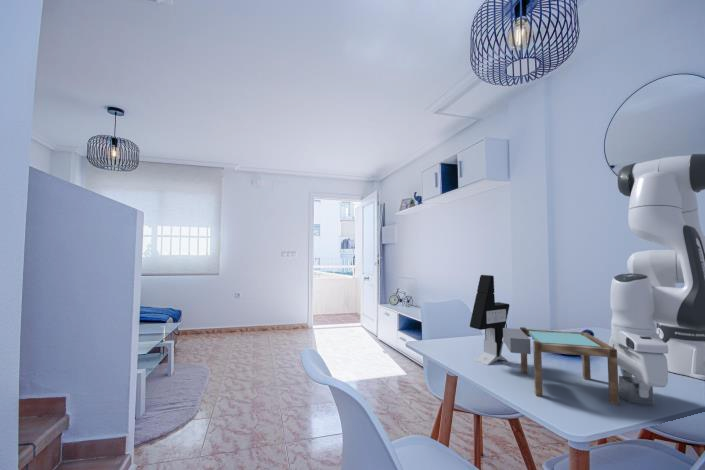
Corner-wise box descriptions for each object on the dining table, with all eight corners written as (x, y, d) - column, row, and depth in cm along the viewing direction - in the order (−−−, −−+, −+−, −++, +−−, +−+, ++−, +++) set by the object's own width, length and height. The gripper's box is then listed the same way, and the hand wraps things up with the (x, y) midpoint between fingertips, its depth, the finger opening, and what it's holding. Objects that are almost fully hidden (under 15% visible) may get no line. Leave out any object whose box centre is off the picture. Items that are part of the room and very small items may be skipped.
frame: (588, 377, 99) (586, 331, 100) (619, 404, 82) (616, 347, 82) (521, 371, 104) (520, 327, 105) (536, 395, 87) (534, 342, 88)
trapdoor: (580, 345, 98) (580, 332, 99) (601, 360, 85) (601, 344, 85) (502, 340, 104) (502, 327, 105) (511, 353, 91) (510, 338, 91)
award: (481, 366, 109) (479, 276, 111) (469, 361, 114) (467, 275, 116) (511, 359, 116) (509, 274, 118) (499, 355, 121) (497, 274, 123)
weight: (642, 397, 86) (641, 377, 86) (653, 405, 81) (652, 384, 82) (619, 394, 87) (618, 375, 88) (629, 403, 83) (628, 382, 83)
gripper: (601, 327, 96) (603, 375, 95) (640, 346, 76) (643, 407, 76) (626, 328, 94) (629, 377, 94) (673, 348, 75) (676, 410, 74)
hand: (635, 391), depth 84 cm, fingers open, 5 cm apart
